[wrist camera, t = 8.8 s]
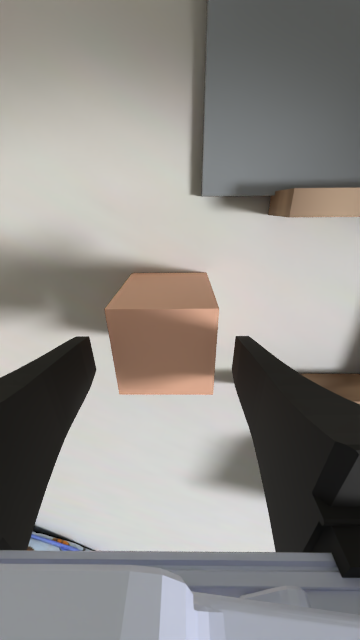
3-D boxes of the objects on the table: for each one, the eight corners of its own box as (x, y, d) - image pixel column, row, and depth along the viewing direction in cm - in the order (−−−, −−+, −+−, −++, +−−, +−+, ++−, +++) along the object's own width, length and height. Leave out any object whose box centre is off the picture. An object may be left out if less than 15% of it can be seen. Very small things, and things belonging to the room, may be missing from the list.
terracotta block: (206, 272, 15) (218, 308, 10) (203, 336, 17) (212, 394, 12) (132, 273, 15) (104, 309, 10) (139, 336, 18) (119, 394, 12)
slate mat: (534, -114, 8) (557, -134, 8) (411, 194, 13) (421, 194, 12) (210, -105, 9) (212, -125, 8) (201, 196, 13) (202, 196, 13)
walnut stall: (485, 189, 13) (565, 185, 10) (383, 384, 19) (416, 413, 17) (271, 191, 13) (294, 188, 10) (242, 384, 19) (251, 412, 17)
